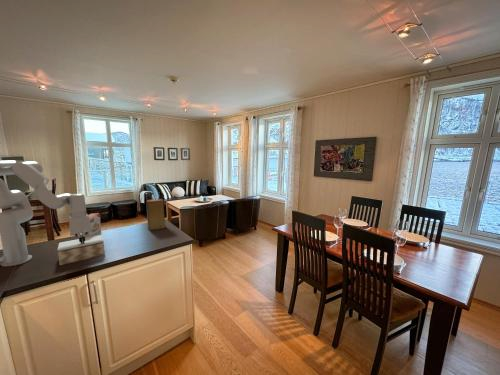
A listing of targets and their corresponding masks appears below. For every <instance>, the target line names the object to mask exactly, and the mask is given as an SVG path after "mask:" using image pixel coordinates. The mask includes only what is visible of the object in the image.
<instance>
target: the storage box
mask: <svg viewBox="0 0 500 375" xmlns="http://www.w3.org/2000/svg"><path fill="white" fill-rule="evenodd" d="M105 250H106V249H105V241H104V242H101V243H96V244H91V245H86V246H81V247H76V248H71V249H66V250H61V251H58V250H57V257H58V262H59V263H58V265H59V266H62V265H67V264H71V263H76V262H80V261H85V260H88V259H89V260H90V259H93V258H97V257H101V256H105V255H106V253H105V252H106V251H105Z"/></svg>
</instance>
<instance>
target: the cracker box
mask: <svg viewBox="0 0 500 375" xmlns="http://www.w3.org/2000/svg"><path fill="white" fill-rule="evenodd" d="M87 215H88V216H89V219H90V223H91V229H92V232H90V233H87V235H86V236H85V238H87V237H93V236H98V235H102V226H101V213H99V212H97V213H96V212H95V213H93V212H92V213H89V214H87ZM80 235H81V236H82V235H83V233H80Z"/></svg>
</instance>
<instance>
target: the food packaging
mask: <svg viewBox="0 0 500 375" xmlns="http://www.w3.org/2000/svg"><path fill="white" fill-rule="evenodd" d="M146 215H147V216H146V218H147V219H146V220H147V221H146V222H147V229H148V231H155V230H160V229H161V228H162V229H165V228H166V220H165V216H166V215H165V201H164V200H163V199H162V198H156V199H155V198H154V199H146ZM154 229H155V230H154ZM162 229H161V230H162Z"/></svg>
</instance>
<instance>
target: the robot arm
mask: <svg viewBox="0 0 500 375" xmlns="http://www.w3.org/2000/svg"><path fill="white" fill-rule="evenodd" d="M43 172H44V168H43V166H42V165H41V163H39V162H37V161H34V160H33V161H31V160H30V161H29V160H13V159H12V160H11V159H10V160H8V159H7V160H5V159H4V160H0V210H2V209H3V211H1V212H0V239H1V246H2V254H3V256H1V257H0V265H1V266H2V267H13V266H17V265H21V264H22V265H23V264H25V263H27V262H30V261H31V260H32V259H33V255H31V254H29V252H28V245H27V239H26V232H25V229H24V228H23V227H22V226H21V224H22V223H26V222H28V221H30V220H32V219H33V217H34V211H33V208H32V206H31V203H30V201H29V198H28V197H27V195H26V194H25V193H24V192H23V191H22V190H19V189H11V190H10V189H9V186H8V184H7V183H6V181H5V180H4V179H2V178H1V177H2V176H12V175H13V176H14V175H15V176H17V177H18V178H19V179H20V180H22V181H23V182H24V183H26V184H27V185H29V187H31V188H32V189H33V191H34V195H35V197H36V198H37V200H38V201H40V202H41V203H42V204H43V205H45V206H46V207H48V208H50V209H52V210H58V209H62V208H65V207H67V206H69V211H70V212H69V213H67V216H68V217H69V220H68V222H69V233H70V234H69V235H70V236H75V237H77V238H78V239H79V242H81V244H82V241H83V243H84V241H85V236H86V235H87V233H90V232H92V229H91V223H90V219H89V216H88V215H89V214H88V213H87V206H86V199H85V194H84V193H66V192H65V193H60V194H57V195H55V194H54V193H53V192H51V191H50V190H49V188H48V186H47V185H48V184H49V182H50V179H49V178H48V177H47V176H45V175H44V174H43ZM7 208H10V209H8V210H7ZM4 209H6V210H4ZM81 233H83V235H82V234H81Z"/></svg>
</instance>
